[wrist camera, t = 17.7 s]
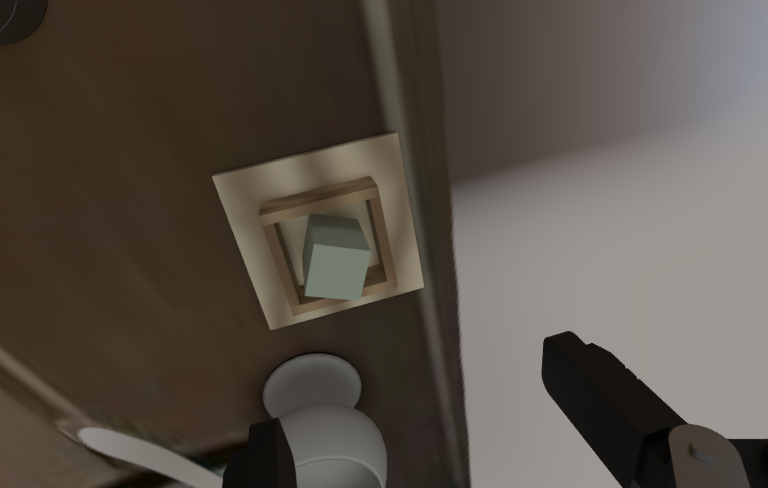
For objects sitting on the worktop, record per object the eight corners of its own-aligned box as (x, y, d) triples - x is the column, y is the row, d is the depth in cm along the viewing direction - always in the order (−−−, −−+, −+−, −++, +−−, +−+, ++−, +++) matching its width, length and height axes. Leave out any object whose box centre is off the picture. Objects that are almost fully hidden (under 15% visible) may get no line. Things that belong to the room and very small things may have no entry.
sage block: (348, 262, 45) (359, 300, 38) (301, 257, 44) (304, 295, 37) (357, 219, 44) (371, 251, 36) (309, 212, 42) (313, 244, 35)
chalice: (235, 369, 49) (216, 487, 36) (349, 328, 50) (371, 427, 37) (280, 446, 55) (278, 571, 42) (380, 408, 56) (410, 518, 43)
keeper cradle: (270, 325, 48) (269, 352, 43) (213, 174, 40) (204, 188, 35) (421, 283, 50) (435, 305, 45) (395, 131, 42) (408, 139, 37)
